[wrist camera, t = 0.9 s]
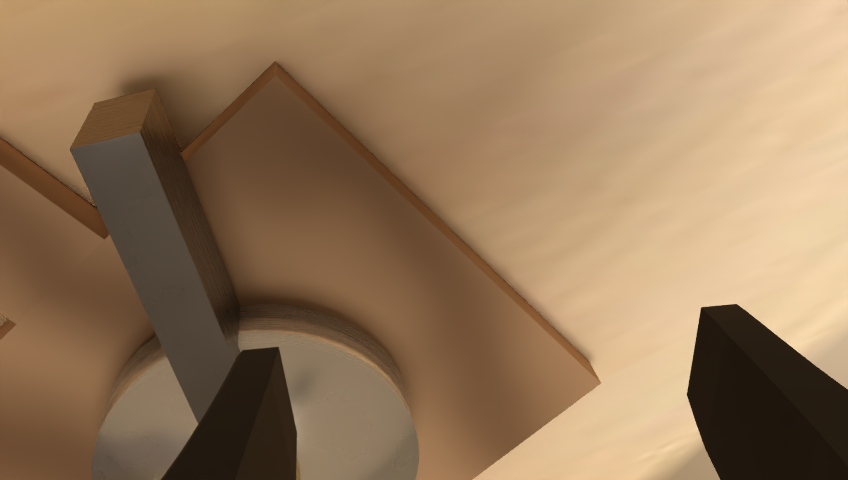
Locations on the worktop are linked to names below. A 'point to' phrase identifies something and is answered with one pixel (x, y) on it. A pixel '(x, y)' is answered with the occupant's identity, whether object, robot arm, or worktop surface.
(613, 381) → the worktop surface
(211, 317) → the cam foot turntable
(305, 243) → the walnut stand
